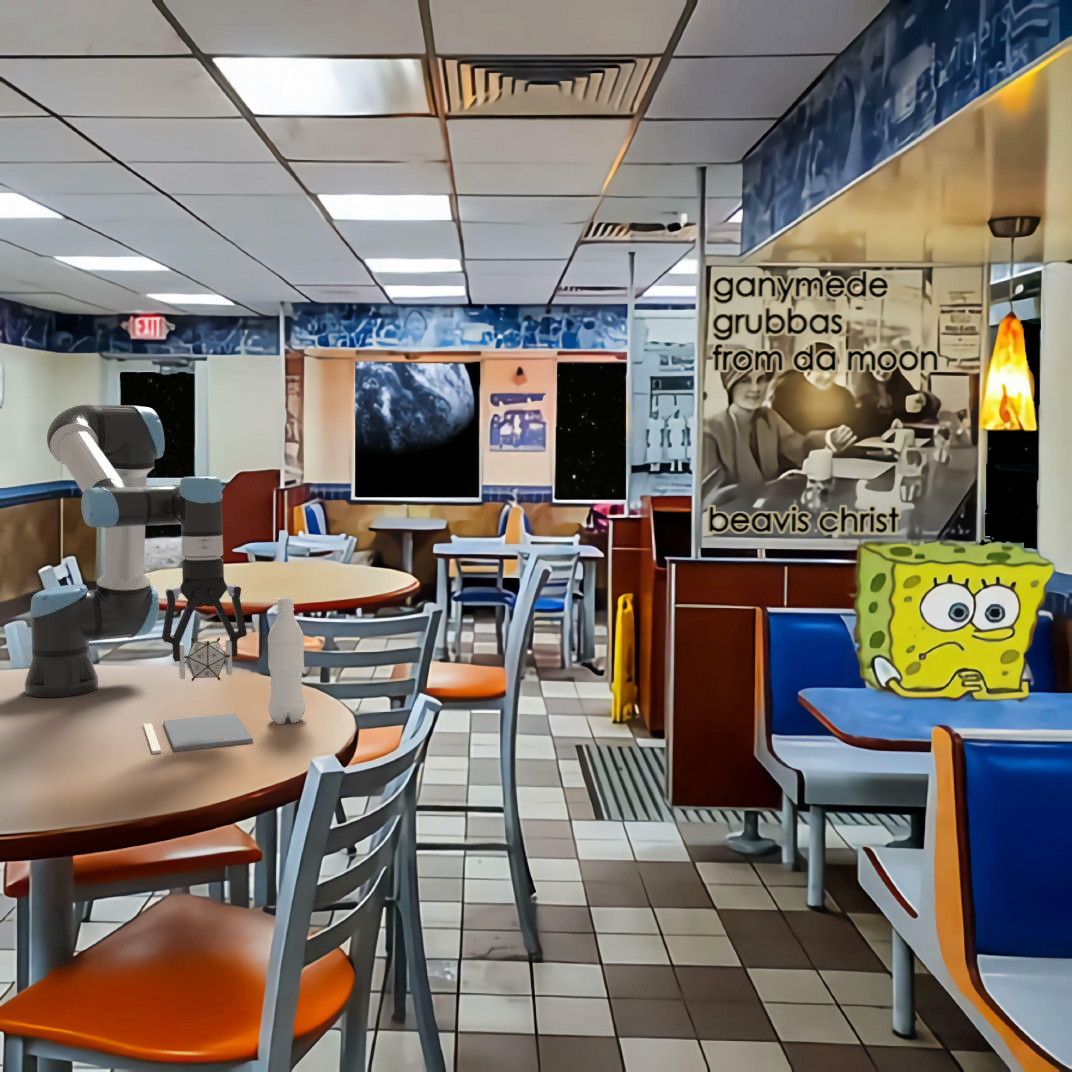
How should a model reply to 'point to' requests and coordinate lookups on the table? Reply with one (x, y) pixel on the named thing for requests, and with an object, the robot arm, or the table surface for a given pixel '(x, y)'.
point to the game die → (205, 659)
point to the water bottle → (286, 665)
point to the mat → (206, 732)
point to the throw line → (152, 738)
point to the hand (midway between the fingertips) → (205, 675)
